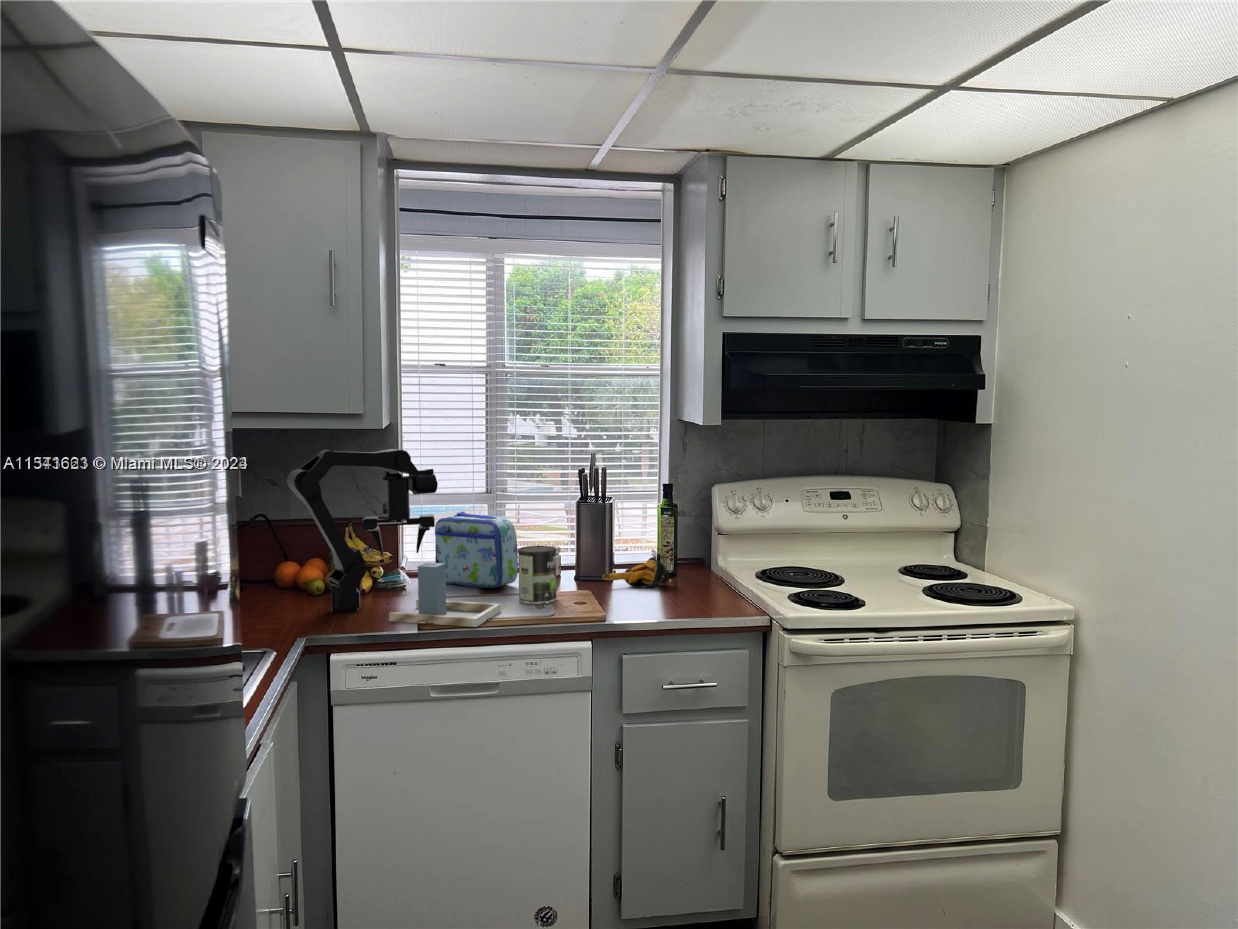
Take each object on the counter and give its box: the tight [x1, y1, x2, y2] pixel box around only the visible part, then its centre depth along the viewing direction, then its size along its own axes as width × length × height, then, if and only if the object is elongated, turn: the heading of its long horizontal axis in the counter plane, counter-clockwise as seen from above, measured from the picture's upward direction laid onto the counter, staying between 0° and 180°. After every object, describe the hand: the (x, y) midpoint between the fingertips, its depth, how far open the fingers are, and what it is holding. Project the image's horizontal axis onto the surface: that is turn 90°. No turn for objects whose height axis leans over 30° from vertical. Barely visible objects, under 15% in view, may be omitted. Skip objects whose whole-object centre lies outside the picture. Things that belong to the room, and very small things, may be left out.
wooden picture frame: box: [388, 598, 502, 628], centre depth 219 cm, size 23×15×2 cm, turn 75°
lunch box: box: [434, 511, 519, 589], centre depth 255 cm, size 26×11×21 cm, turn 56°
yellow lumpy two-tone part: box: [601, 556, 670, 589], centre depth 250 cm, size 9×11×18 cm
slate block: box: [417, 562, 447, 616], centre depth 219 cm, size 5×5×13 cm
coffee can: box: [517, 545, 557, 605], centre depth 235 cm, size 10×10×14 cm
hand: (399, 553), depth 234 cm, fingers open, 9 cm apart
